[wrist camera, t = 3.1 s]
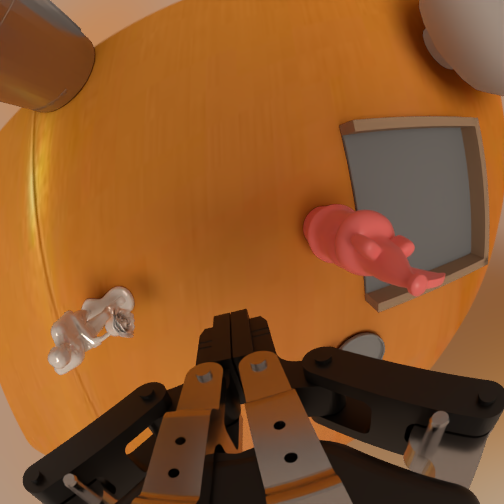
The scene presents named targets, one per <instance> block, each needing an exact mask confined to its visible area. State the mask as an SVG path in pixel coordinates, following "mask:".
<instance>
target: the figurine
mask: <svg viewBox="0 0 504 504" xmlns="http://www.w3.org/2000/svg"><path fill="white" fill-rule="evenodd" d="M133 308H134V299H133V296H132V294H131V292H130V291H129V290H127V289H126V288H124V287H121V286H118V287H114V288H112V289H111V290H109V291H108V292H107V293H106V294H105V296H104V297H103V298H101V299H91V298H90V299H86V300H85V301H84V303H83V305H82V310H79V311H76V312H74V313H73V312H72V311H71V310H68V311H66V312H65V313H64V315H63V316H62V317H60V318H59V319H58V320H57V321H56V322H55V323H54V324H53V326H52V328H51V335H52V338H53V340H54V343H55V344H56V347H53V348H52V349H51V350H50V352H49V354H48V361H49V363H50V364H51V365H52V366H53V367H54V369H55V371H56V372H57V373H58V374H59V375H63V374H65V373H67V372H69V371H70V370H72V369H74V368H75V367H77V366H78V365H80V364H81V363H82V361H83V360H84V357H85V352H86V351H88V350H90V349H91V348H93V347H94V348H96V347H97V346H99V345H100V344H101V343H102V341H103V340H105V339H106V338H107V337H109V336H110V335H112V336H121V337H128V338H129V337H130V338H132V337H133V336H134V335H133V334H134V332H133V330H134V328H135V326H134V321H135V320H134V315H133V314H132V313H131V311H132V310H133ZM104 326H105V328H106V331H107V333H106V334H104V335H103V336H101V337H97V334H98V333H99V332H100V331H101V330H102V329H103V327H104Z"/></svg>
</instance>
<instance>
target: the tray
mask: <svg viewBox="0 0 504 504" xmlns="http://www.w3.org/2000/svg"><path fill="white" fill-rule="evenodd" d="M339 127H340V131H341V135H342V140H343V144H344V149H345V153H346V158H347V163H348V168H349V173H350V178H351V184H352V189H353V195H354V201H355V208H356V211H359V210H373V211H376V212H379V213H381V214H382V215H384V216H385V217H386V218H387V219H388V220H389V221H390V222H391V224H392V226H393V229H394V232H395V236H397V235H402V236H404V237H406V238H407V239H409V240H410V241H412V242H413V244H414V246H415V250H414V252H413V253H412V254H411V255H410V256H409V257H407V259H408V261H409V264H410V266H411V267H413V268H417V269H422V270H426V271H431V272H436V273H446V275H445V279H444V282H443V284H442V285H440V286H437V287H434V288H429V289H426V290H425V292H424V293H423V294H426V293H428V292H430V291H433V290H435V289H437V288H439V287H442V286H444V285H446V284H448V283H450V282H452V281H455V280H457V279H459V278H461V277H463V276H465V275H467V274H469V273H471V272H473V271H475V270H477V269H479V268H481V267H483V266H485V265H487V264H488V252H489V197H488V183H487V172H486V163H485V156H484V149H483V143H482V137H481V131H480V126H479V122H478V118H470V117H445V116H415V117H389V118H373V119H361V120H352V121H349V122H347V123H344V124H342V125H339ZM364 286H365V300H366V301H367V302H368V303H369V304H370V305H371V306H372V307H373V308H374V309H375V310H376V311H378V312H381V311H383V310H386V309H389V308H391V307H394V306H396V305H399V304H401V303H404V302H406V301H409V300H411V299H414V298H416V297H419V296H413V295H411V294H410V293H409V292H408V290H407V288H403V287H398V286H395V285H392V284H389V283H386V282H383V281H380V280H379V279H377V278H375V277H374V276H364ZM423 294H421V295H423ZM421 295H420V296H421Z"/></svg>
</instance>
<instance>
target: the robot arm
mask: <svg viewBox="0 0 504 504" xmlns="http://www.w3.org/2000/svg"><path fill="white" fill-rule="evenodd" d="M94 57H95V53H94V47H93V44H92V42H91V41H90V40H89V39H88V38H87V37H86V36H85V35H84V34H83V33H82V32H81V29H80V28H79V27H78V26H77V25H76V24H75V23H74V22H73V21H72V20H71V19H70V18H69V17H68V16H67V15H65V14H64V13H63V12H62V11H61V10H60V9H59V8H58V7H57V6H56V5H55V4H53V3H52V2H51V1H50V0H0V102H4V103H8V104H12V105H16V106H19V107H23V108H27V109H31V110H35V111H38V112H50V111H54V110H56V109H59V108H61V107H62V106H64V105H65V104H67V103H68V102H69V101H70V100H71V99H72V98H73V97H75V95H76V94H77V93H78V92H79V91H80V90H81V88H82V87H83V85H84V84H85V82H86V81H87V79H88V77H89V75H90V73H91V70H92V67H93V64H94ZM244 403H245V409H246V413H247V418H248V422H249V427H250V431H251V436H252V440H253V444H254V448H252V449H249V450H246V451H244V452H242V438H243V418H242V415H241V407H240V404H244ZM503 410H504V388H503V387H502V386H501V385H500V384H498V383H496V382H494V381H489V380H482V379H475V378H469V377H463V376H457V375H452V374H446V373H441V372H436V371H430V370H425V369H421V368H416V367H411V366H407V365H402V364H398V363H393V362H389V361H385V360H380V359H376V358H372V357H368V356H364V355H360V354H357V353H353V352H349V351H345V350H341V349H338V348H334V347H320V348H316V349H313V350H311V351H310V352H308V353H307V354H306V355H305V356H304V357H303V360H302V361H286V360H283V359H281V358H280V357H278V355H277V354H276V351H275V348H274V344H273V341H272V337H271V334H270V330H269V327H268V323H267V320H265V319H264V318H262V317H261V316H259V317H255V318H251V319H249V315H248V312H247V309H243V310H239V311H235V312H231V314H230V313H226V314H222V315H218V316H214V321H213V327H212V328H208V329H205V330H204V331H203V332H202V334H201V335H200V338H199V345H198V352H197V359H196V366H195V367H193V368H192V369H190V370H189V371H188V373H187V374H186V377H185V380H184V384H182V385H180V386H177V387H175V388H172V389H169V390H166V388H165V386H164V385H163V384H161V383H157V382H151V383H147V384H144V385H142V386H140V387H138V388H137V389H136V390H134V391H133V392H132V393H131V394H129V395H128V396H127V397H125V398H124V399H123V400H121V401H120V402H119V403H117V404H116V405H115V406H113V407H112V408H111V409H110V410H108V411H107V412H106V413H104V414H103V415H102V416H100V417H99V418H97V419H96V420H95V421H93V422H92V423H91V424H89V425H88V426H87V427H85V428H84V429H83V430H81V431H80V432H78V433H77V434H76V435H74V436H73V437H71V438H70V439H69V440H67V441H66V442H64V443H63V444H62V445H60V446H59V447H57V448H56V449H55V450H53V451H52V452H50V453H49V454H47V455H46V456H44V457H43V458H42V459H40V460H39V461H37V462H36V463H34V464H33V465H31V466H30V467H29V468H28V469H27V470H26V471H25V473H24V476H23V485H24V487H25V489H26V490H27V491H28V492H30V493H31V494H32V495H33V496H35V497H36V498H37V499H38V500H40V501H41V502H42V503H43V504H480V503H479V501H478V499H477V497H476V496H475V495H474V494H473V493H472V492H471V491H470V490H469V487H470V485H471V482H472V480H473V478H474V475H475V472H476V470H477V467H478V464H479V462H480V459H481V456H482V453H483V450H484V447H485V443H486V440H487V438H488V436H489V435H490V433H491V431H492V430H493V428H494V426H495V424H496V423H497V421H498V419H499V417H500V415H501V414H502V412H503ZM308 417H312V419H313V420H314V421H315V422H317V423H318V424H321V425H323V426H325V427H328V428H330V429H332V430H335V431H337V432H339V433H342V434H344V435H347V436H349V437H352V438H355V439H357V440H360V441H362V442H365V443H368V444H371V445H373V446H376V447H379V448H382V449H385V450H388V451H391V452H394V453H397V454H401V455H404V457H403V458H404V463H405V465H406V466H407V467H408V468H409V469H410V470H411V471H410V470H407V469H404V468H401V467H398V466H396V465H393V464H390V463H388V462H385V461H383V460H380V459H377V458H375V457H373V456H370V455H368V454H365V453H363V452H361V451H358V450H356V449H354V448H351V447H349V446H347V445H344V444H340V443H336V442H331V441H323V440H319V439H318V437H317V435H316V433H315V430H314V428H313V426H312V424H311V422H310V420H309V418H308ZM147 427H149V429H150V430H151V431H152V433H153V435H151V436H150V437H149V438H148V439H147V440H146V441H145V442H143V443H142V444H141V445H140V446H139V447H137V448H136V449H135V450H134V451H133V452H132V453H130V454H127V455H126V453H125V448H126V446H127V444H128V443H129V442H131V441H132V440H133V439H134V438H135V437H137V436H138V435H139V434H140V433H141V432H143V431H144V430H145V429H146V428H147ZM413 471H414V472H413Z"/></svg>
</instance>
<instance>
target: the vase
mask: <svg viewBox="0 0 504 504" xmlns="http://www.w3.org/2000/svg"><path fill="white" fill-rule="evenodd" d="M419 9H420V13H421V16H422V19H423V23H424V25H425V27H426V28H425V29H424V31H423V39H424V43H425V45H426V47H427V49H428V51H429V52H430V54H431V55H432V57H433V58H434V59H435V60H436V61H437V62H438V63H439V64H440V65H442V66H443V67H445V68H447V69H451V70H452V69H454V70H455V71H456V73H457V74H458V75H459V76H460V77H461V78H462V79H463V80H464V81H465V82H467V83H468V84H469V85H471V86H472V87H473V88H475V89H476V90H480V91H483V92H487V93H491V94H496V95H501V96H504V0H419Z"/></svg>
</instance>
